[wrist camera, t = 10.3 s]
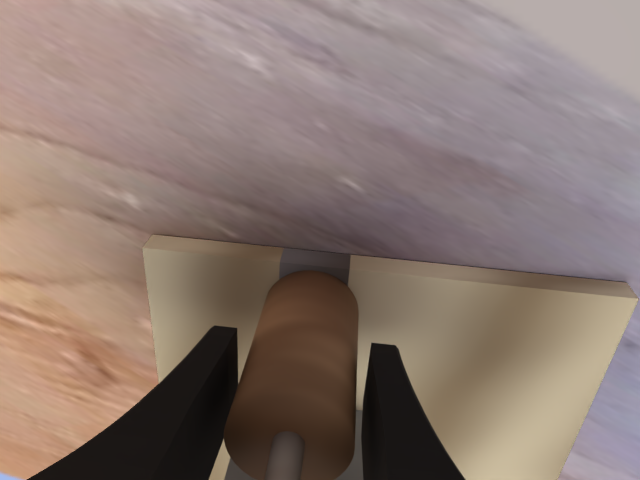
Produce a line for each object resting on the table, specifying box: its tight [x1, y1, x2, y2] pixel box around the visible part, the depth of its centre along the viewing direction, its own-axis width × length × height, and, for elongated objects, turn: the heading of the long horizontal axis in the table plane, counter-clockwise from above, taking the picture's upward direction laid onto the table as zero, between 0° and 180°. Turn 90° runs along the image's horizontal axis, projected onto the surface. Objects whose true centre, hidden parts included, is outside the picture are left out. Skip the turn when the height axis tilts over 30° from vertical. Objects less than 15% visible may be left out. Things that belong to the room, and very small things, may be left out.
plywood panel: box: [142, 234, 639, 480], centre depth 18 cm, size 14×12×1 cm
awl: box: [224, 270, 359, 480], centre depth 12 cm, size 3×3×7 cm
